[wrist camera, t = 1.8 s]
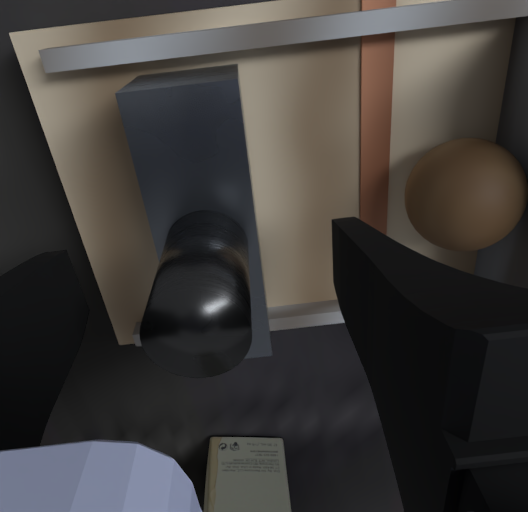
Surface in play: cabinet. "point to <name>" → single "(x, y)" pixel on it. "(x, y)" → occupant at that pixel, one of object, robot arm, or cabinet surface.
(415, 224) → the press
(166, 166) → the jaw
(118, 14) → the cabinet surface
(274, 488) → the skincare box
